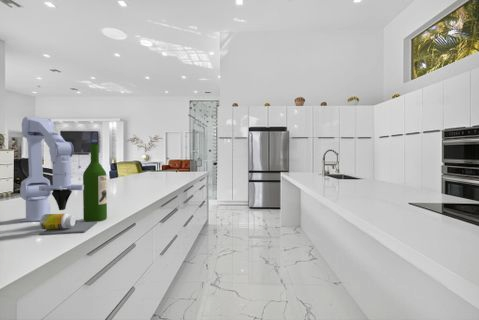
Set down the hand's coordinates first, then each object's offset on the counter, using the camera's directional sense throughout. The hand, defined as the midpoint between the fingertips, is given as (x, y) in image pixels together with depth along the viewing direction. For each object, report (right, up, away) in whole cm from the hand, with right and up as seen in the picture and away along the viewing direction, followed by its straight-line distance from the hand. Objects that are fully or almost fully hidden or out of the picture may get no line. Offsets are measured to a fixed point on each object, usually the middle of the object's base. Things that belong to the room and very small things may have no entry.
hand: (62, 209), depth 101 cm
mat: (+3, -7, +1) cm, 8 cm away
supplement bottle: (-5, -4, -3) cm, 7 cm away
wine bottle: (+5, -7, +15) cm, 17 cm away
